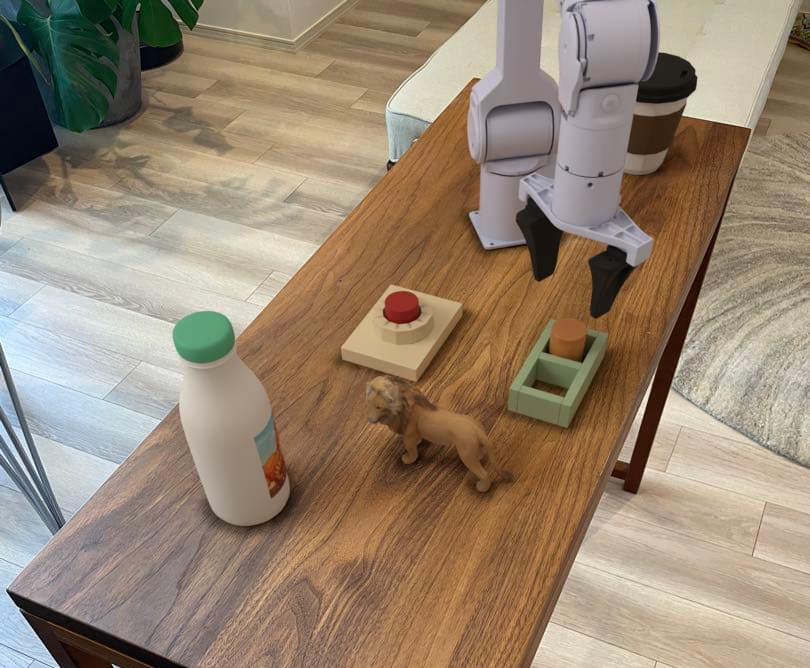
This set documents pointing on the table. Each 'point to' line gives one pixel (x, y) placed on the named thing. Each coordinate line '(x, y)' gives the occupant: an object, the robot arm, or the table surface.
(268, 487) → the milk bottle
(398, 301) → the button
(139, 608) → the table surface
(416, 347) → the box
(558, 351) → the cylinder
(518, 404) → the pod holder
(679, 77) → the coffee cup
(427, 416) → the lion figurine
